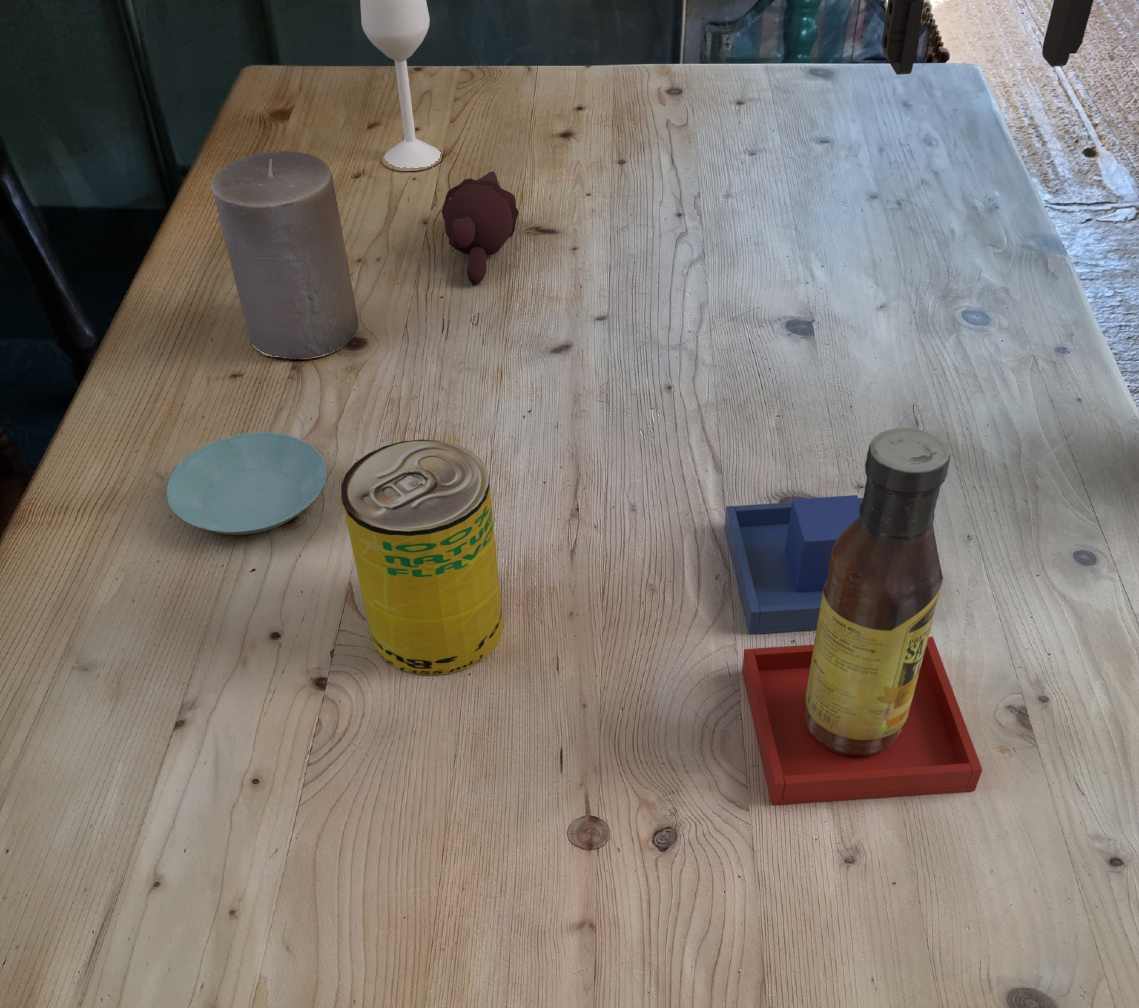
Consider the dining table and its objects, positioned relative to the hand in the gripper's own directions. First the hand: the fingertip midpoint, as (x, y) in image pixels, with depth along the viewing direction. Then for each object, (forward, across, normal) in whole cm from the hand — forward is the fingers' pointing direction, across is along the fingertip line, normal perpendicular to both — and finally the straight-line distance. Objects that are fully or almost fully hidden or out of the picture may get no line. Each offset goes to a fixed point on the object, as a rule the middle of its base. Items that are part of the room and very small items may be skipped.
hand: (977, 65), depth 67 cm
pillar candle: (+30, -45, +29) cm, 62 cm away
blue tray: (+30, -6, -7) cm, 31 cm away
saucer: (+30, -47, +5) cm, 56 cm away
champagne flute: (+30, -36, +63) cm, 79 cm away
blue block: (+30, -6, -7) cm, 31 cm away
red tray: (+30, -7, -22) cm, 38 cm away
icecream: (+30, -29, +42) cm, 59 cm away
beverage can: (+30, -33, -10) cm, 46 cm away
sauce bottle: (+30, -7, -21) cm, 37 cm away
